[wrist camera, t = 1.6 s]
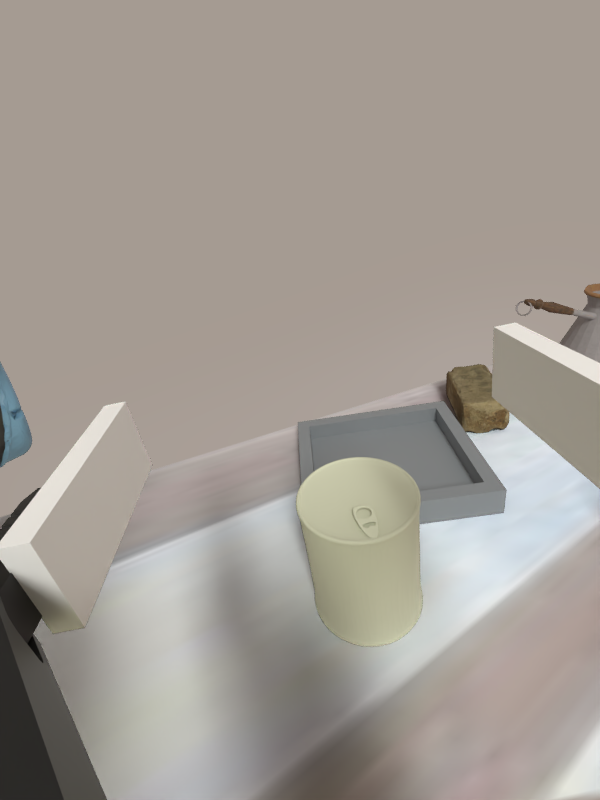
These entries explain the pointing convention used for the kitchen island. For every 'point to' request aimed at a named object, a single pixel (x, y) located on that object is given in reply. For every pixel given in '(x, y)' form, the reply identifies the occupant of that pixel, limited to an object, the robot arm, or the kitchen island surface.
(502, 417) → the stone block
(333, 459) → the tray
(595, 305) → the coffee pot
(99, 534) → the robot arm
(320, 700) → the kitchen island surface
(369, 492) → the can
